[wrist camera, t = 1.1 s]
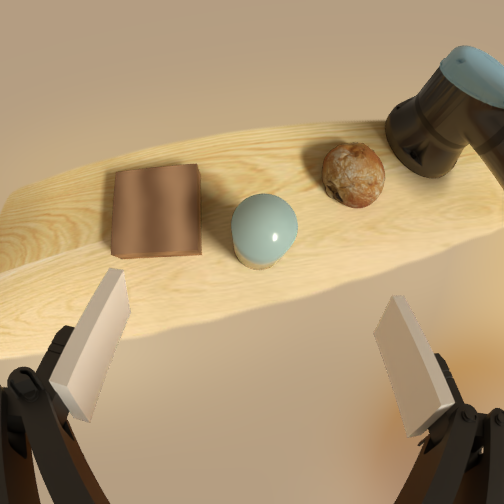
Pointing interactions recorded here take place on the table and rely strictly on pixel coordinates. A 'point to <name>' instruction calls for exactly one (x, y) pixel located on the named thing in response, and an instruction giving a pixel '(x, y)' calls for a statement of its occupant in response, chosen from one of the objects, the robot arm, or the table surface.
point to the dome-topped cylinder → (263, 230)
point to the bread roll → (353, 174)
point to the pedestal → (157, 212)
